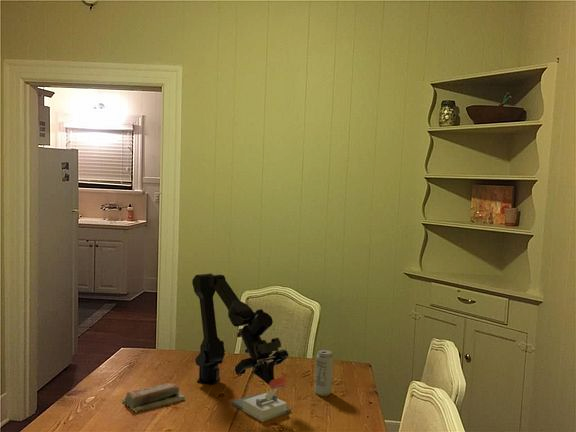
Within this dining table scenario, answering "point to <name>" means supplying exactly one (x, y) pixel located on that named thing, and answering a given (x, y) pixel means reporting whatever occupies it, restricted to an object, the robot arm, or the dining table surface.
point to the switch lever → (274, 388)
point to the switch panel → (262, 406)
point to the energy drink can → (324, 372)
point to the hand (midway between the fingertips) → (273, 386)
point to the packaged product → (153, 396)
